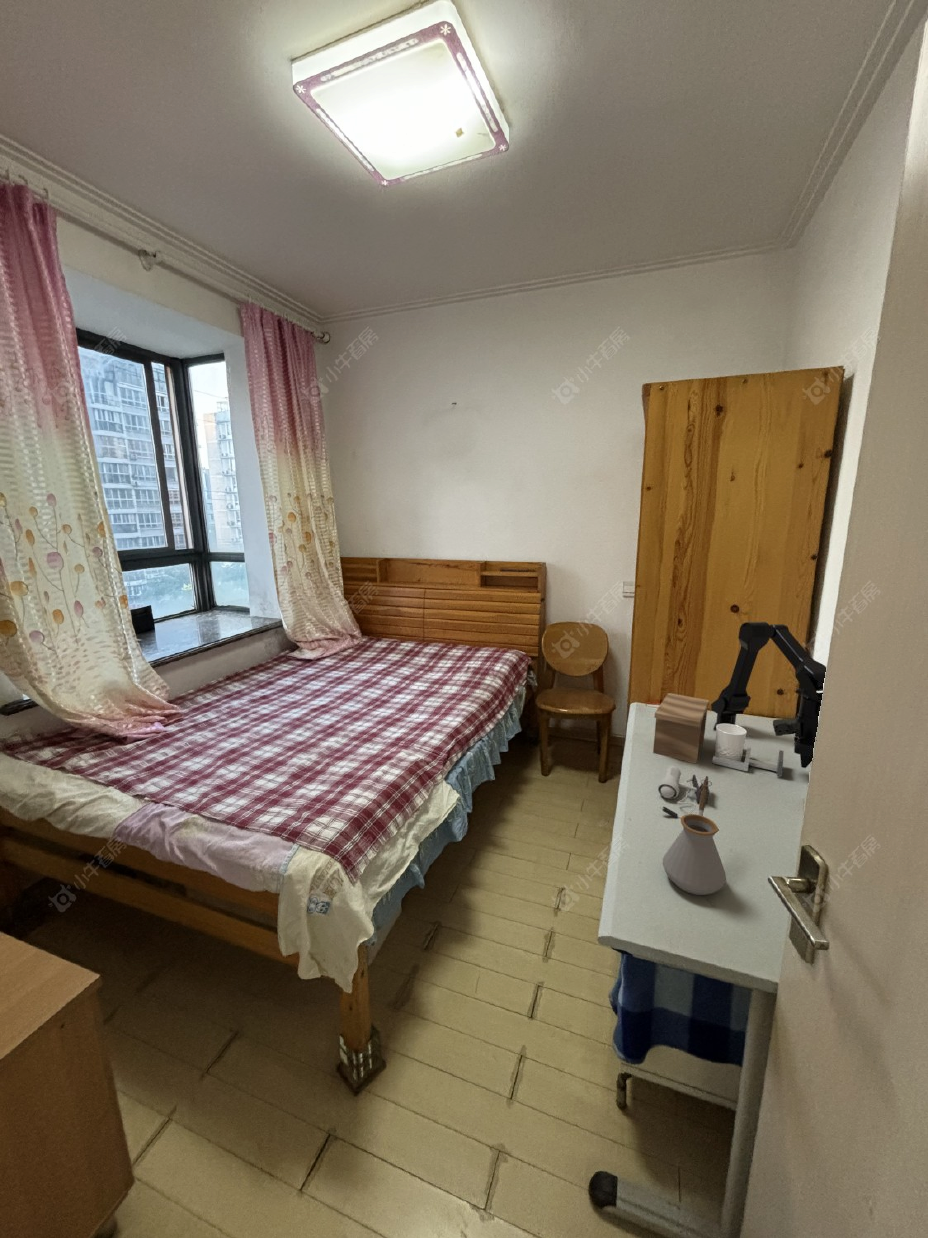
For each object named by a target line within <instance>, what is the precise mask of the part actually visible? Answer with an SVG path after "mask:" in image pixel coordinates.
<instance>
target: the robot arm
mask: <svg viewBox="0 0 928 1238" xmlns="http://www.w3.org/2000/svg"><path fill="white" fill-rule="evenodd" d="M738 631H739V632H738V636H737V638H738V641H739V644H740V648H739V649H740V650H739V651H738V656H737V658H736V662H735V664H734V667H733V672H732V674H731V677H730V681H729V684H728V685H726V686H725V687H723V689H722V690H721V691H720V694H719V695H718V697H717V699H716V700H714V701H713V702H712V703H711V704H710V708H711V709H710V710H711V712H714V713H715V714H716V720H715V723H714V726H713V729H712V730H713V731H716V726H717V725H718V724H733V725H736V723H737V722H736V721H737V715H742V714H744V712H745V710H746V709H747V708H749V707H750V706H749V705H750V701H751V699H752V698H751V696H750V695H749V694H748V691H747V688H748V684H749V682H750V681H749V680H750V677H751V675H752V673H753V670H754V669H753V668H754V666H755V663H756V660H757V657H758V654H759V651H760V650H762V649H763V648H764V647H765V646H766V645H767V644H768V642H769V640H770V639H771V640H772V642H773V643H774V644H775V646H777V649H779V651H780V652H781V653H782V654H783V656H784V657H785V658H786V659H787V661H789V663H790V664H791V666H792V667H793V669H794V674H795V675H794V676H795V679H796V680H797V682H798V683H799V685H800V688H798V689H797V690H795V691H794V692H795V693H796V694H798V695H799V696H801V699H800V704H799V705H800V706H799V712H798V713H797V714H796V717H793V718H792V717H789V718H788V717H787V718H779V719H777V718H776V719H773V720H772V726H773V732H774V733H775V736H776V737H777V736H778V737H781V736H786V735H794V737H793V741H794V742H793V747H794V748H793V751H794V753H795V754H797V755H799V759H800V767H801V768H802V769H806V768H808V767H809V765H811V763H812V762H813V760H812V758H813V748H814V742H815V737H816V732H817V727H818V716H819V711H820V706H821V700H822V694H823V692H824V691H823V683H824V678H825V672H826V667H827V666H826V665H824V664H823V663H821V662H819V661H817V660H815V659H813V658H812V657H811V655H810V654H809V653H808V652H807V650H806V649H805V648H804V647H803V646H802V644H801V643H799V641H798V640H797V639H796V637H794V635H793V634H792V633H791V631H790V630H789V627H788V626H787V625H785V624H783V623H782V624H781V623H780V624H775V623H774V624H769V623H768V622H766V621H750V622H749V621H748V622H743V623H742V624H741V625H740V627H739V630H738Z"/></svg>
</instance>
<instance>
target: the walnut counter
mask: <svg viewBox="0 0 928 1238" xmlns="http://www.w3.org/2000/svg"><path fill="white" fill-rule="evenodd" d="M662 700H663V701H661V703H660V705H659V706H658V708H657V709H656V710H655V712H654V718H655V727H654V736H653V737H654V738H653V739H654V740H653V749H652V750H653V751H652V753H653V754H655V755H657V754H658V755H661V756H665V757H669V758H672V759H677V760H681V761H685V762H689V763H694V764H697V763H698V758H699V757H698V755H699V748H700V747H703V746H704V744H705V743H704V742H705V736H706V735H705V733H706V726H707V725H706V723H707V717H708V708H709V705H710V700H708V699H703V698H698V697H694V696H693V697H692V696H687V695H681V694H677V693H669V692H668V693H667V694H666V696H665V697H664V699H662ZM699 746H700V747H699Z"/></svg>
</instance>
